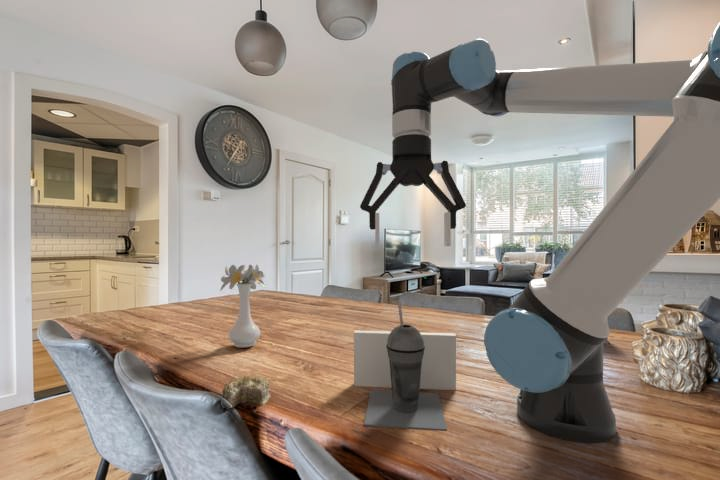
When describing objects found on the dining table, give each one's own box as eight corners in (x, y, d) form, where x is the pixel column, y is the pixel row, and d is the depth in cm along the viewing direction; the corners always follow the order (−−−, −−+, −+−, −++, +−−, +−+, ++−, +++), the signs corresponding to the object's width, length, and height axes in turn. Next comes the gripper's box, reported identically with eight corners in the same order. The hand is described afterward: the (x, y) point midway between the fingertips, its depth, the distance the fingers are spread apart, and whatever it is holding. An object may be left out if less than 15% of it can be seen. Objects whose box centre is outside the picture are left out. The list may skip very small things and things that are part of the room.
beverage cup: (424, 418, 63) (424, 306, 63) (383, 414, 65) (383, 304, 65) (425, 400, 70) (425, 299, 70) (388, 397, 72) (388, 298, 72)
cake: (217, 397, 74) (217, 371, 74) (266, 388, 79) (266, 364, 79) (222, 419, 66) (222, 389, 65) (276, 407, 70) (276, 380, 70)
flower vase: (263, 334, 122) (263, 261, 121) (266, 351, 104) (266, 265, 104) (222, 338, 118) (222, 262, 117) (219, 355, 100) (218, 266, 100)
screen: (454, 387, 78) (454, 333, 78) (456, 391, 76) (456, 335, 76) (355, 383, 81) (355, 330, 81) (353, 386, 79) (353, 332, 79)
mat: (438, 397, 74) (438, 393, 74) (446, 433, 60) (446, 429, 60) (370, 393, 75) (370, 389, 75) (363, 428, 62) (363, 424, 62)
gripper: (471, 141, 73) (472, 245, 73) (350, 144, 75) (350, 246, 75) (481, 130, 65) (482, 246, 65) (346, 134, 67) (346, 246, 67)
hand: (412, 246), depth 70 cm, fingers open, 13 cm apart
